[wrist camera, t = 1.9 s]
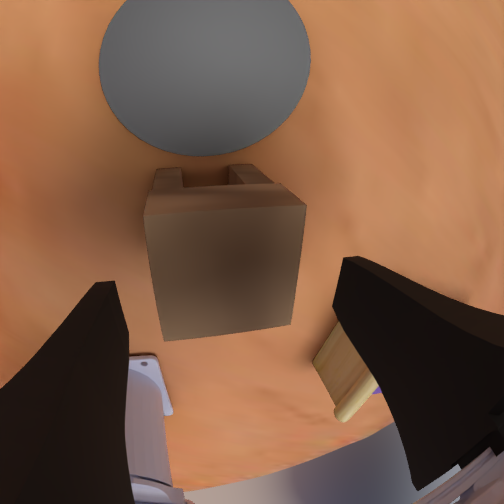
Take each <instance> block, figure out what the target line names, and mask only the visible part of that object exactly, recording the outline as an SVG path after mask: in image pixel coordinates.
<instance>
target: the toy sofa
mask: <svg viewBox="0 0 504 504" xmlns="http://www.w3.org/2000/svg"><path fill="white" fill-rule="evenodd" d="M313 365H314V367H315V369H316V371H317V372H318V374H319V376H320V378H321V380H322V381H323V383H324V385H325V387H326V389H327V390H328V392H329V394H330V396H331V398H332V400H333V402H334V404H335V406H336V407H335V409H334V415H335V417H336V419H337V420H339V421H340V422H347V421H348V420H349V419H350V418H351V417H352V416H353V415H354V414H355V413H356V411H357V410H358V409H359V408H360V407H361V406H362V405H363V403H364V402H365V401H366V400H367V399H368V398H369V397H370V396H371V394H377V393H382V391H381V389H380V387H379V385H378V384H377V382H376V380H375V378H374V377H373V375H372V374H371V372H370V371H369V369H368V367H367V366H366V364H365V363H364V361H363V360H362V358H361V357H360V355H359V354H358V352H357V351H356V349H355V348H354V346H353V344H352V343H351V341H350V340H349V338H348V337H347V335H346V333H345V332H344V330H343V328H342V326H341V324H340V322H339V321H338V323H337V324H336V326H335V327H334V329H333V331H332V332H331V334H330V335H329V337H328V338H327V340H326V341H325V343H324V344H323V346H322V348H321V349H320V351H319V352H318V354H317V355H316V357H315V358H314V360H313Z"/></svg>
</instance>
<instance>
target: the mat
mask: <svg viewBox="0 0 504 504" xmlns="http://www.w3.org/2000/svg"><path fill="white" fill-rule="evenodd" d="M310 63H311V59H310V45H309V39H308V36H307V32H306V29H305V26H304V24H303V22H302V20H301V18H300V16H299V14H298V13H297V11H296V10H295V8H294V7H293V5H292V4H291V3H290V2H289V1H288V0H127V1H126V2H125V3H124V4H123V5H122V6H121V7H120V9H119V10H118V11H117V12H116V14H115V16H114V17H113V19H112V20H111V22H110V24H109V26H108V28H107V30H106V33H105V35H104V38H103V42H102V45H101V49H100V57H99V76H100V81H101V86H102V90H103V92H104V95H105V98H106V100H107V102H108V104H109V106H110V108H111V110H112V111H113V113H114V114H115V115H116V117H117V118H118V119H119V121H120V122H121V123H122V124H123V125H124V126H125V127H126V128H127V129H128V130H129V131H130V132H131V133H133V134H134V135H136V136H137V137H138V138H140V139H141V140H143V141H145V142H146V143H148V144H150V145H152V146H154V147H157V148H159V149H162V150H164V151H168V152H172V153H176V154H180V155H188V156H213V155H221V154H226V153H230V152H234V151H237V150H240V149H243V148H246V147H248V146H250V145H252V144H254V143H256V142H258V141H260V140H261V139H263V138H265V137H266V136H268V135H269V134H271V133H272V132H273V131H274V130H275V129H277V128H278V127H279V126H280V125H281V124H282V123H283V122H284V121H285V120H286V119H287V118H288V117H289V115H290V114H291V113H292V111H293V110H294V109H295V107H296V106H297V104H298V102H299V100H300V99H301V97H302V95H303V92H304V90H305V87H306V84H307V80H308V77H309V71H310Z"/></svg>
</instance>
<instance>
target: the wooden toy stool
mask: <svg viewBox="0 0 504 504" xmlns="http://www.w3.org/2000/svg"><path fill="white" fill-rule="evenodd" d="M306 207H307V205H306V204H305V203H304V202H302V201H301V200H300V199H299V198H298V197H296V196H295V195H294V194H293V193H292V192H290V191H289V190H288V189H287V188H285V187H284V186H283V185H282V184H281V183H274V182H273V181H272V180H270V179H269V178H268V177H267V176H266V175H264V174H263V173H262V172H261V171H260V170H258V169H257V168H256V167H255V166H254V165H252V164H237V165H229V179H228V185H220V186H203V187H188V188H183V181H182V173H181V167H177V168H164V169H156V174H155V179H154V184H153V188H152V190H151V191H149V192H148V196H147V200H146V205H145V209H144V214H143V220H144V228H145V236H146V243H147V251H148V258H149V264H150V270H151V277H152V283H153V288H154V294H155V300H156V305H157V310H158V315H159V320H160V325H161V330H162V334H163V339H164V341H174V340H184V339H193V338H202V337H210V336H218V335H226V334H233V333H241V332H247V331H254V330H261V329H267V328H273V327H279V326H285V325H291V319H292V313H293V306H294V299H295V293H296V286H297V279H298V272H299V264H300V257H301V249H302V241H303V233H304V225H305V216H306Z"/></svg>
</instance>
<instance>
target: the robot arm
mask: <svg viewBox="0 0 504 504" xmlns="http://www.w3.org/2000/svg"><path fill="white" fill-rule="evenodd" d="M332 307H333V309H334V311H335V313H336V316H337V318H338V320H339V322H340V324H341V326H342V328H343V330H344V332H345V333H346V335H347V337H348V338H349V340H350V341H351V343H352V344H353V346H354V348H355V349H356V351H357V352H358V354H359V355H360V357H361V358H362V360H363V361H364V363H365V364H366V366H367V367H368V369H369V371H370V372H371V374H372V375H373V377H374V378H375V380H376V382H377V384H378V385H379V387H380V389H381V391H382V393H383V396H384V398H385V400H386V402H387V404H388V406H389V409H390V411H391V413H392V416H393V418H394V421H395V423H396V426H397V428H398V431H399V434H400V437H401V440H402V443H403V446H404V450H405V453H406V457H407V461H408V465H409V469H410V474H411V479H412V483H413V485H414V486H415V488H416V490H417V491H419V490H421V489H422V488H424V487H425V486H427V485H428V484H430V483H431V482H433V481H434V480H436V479H437V478H439V477H440V476H442V475H443V474H445V473H446V472H447V471H449V470H450V469H452V468H453V467H454V466H455V465H457V464H459V466H460V468H461V469H462V470H461V471H459V472H458V473H457V474H455V475H454V476H453V477H451V478H450V479H449V480H448V481H446V482H445V483H443V484H442V485H440V486H439V487H437V488H436V489H435V490H433V491H432V492H430V493H429V494H427V495H426V496H424V497H423V498H421V499H419V500H418V501H416V502H415V503H413V504H450V503H451V502H452V501H454V500H455V499H456V498H457V497H459V496H460V500H459V501H458V502H455V503H454V504H504V315H500V314H496V313H492V312H489V311H485V310H482V309H478V308H475V307H472V306H469V305H467V304H464V303H462V302H459V301H456V300H454V299H451V298H449V297H446V296H444V295H442V294H439V293H437V292H435V291H433V290H431V289H429V288H426V287H424V286H422V285H420V284H418V283H416V282H414V281H412V280H410V279H408V278H406V277H404V276H402V275H400V274H398V273H396V272H394V271H392V270H390V269H388V268H386V267H384V266H381V265H379V264H377V263H375V262H373V261H370V260H368V259H365V258H363V257H360V256H353V257H345V258H343V261H342V266H341V271H340V275H339V280H338V284H337V288H336V292H335V297H334V301H333V305H332ZM172 414H173V408H172V405H171V402H170V399H169V396H168V392H167V389H166V386H165V383H164V379H163V376H162V372H161V369H160V365H159V362H158V359H157V357H155V356H153V355H147V356H133V357H129V331H128V328H127V325H126V321H125V318H124V314H123V311H122V307H121V303H120V300H119V296H118V292H117V288H116V284H115V281H106V282H96V283H95V284H94V285H93V286H92V287H91V288H90V289H89V290H88V292H87V293H86V294H85V295H84V297H83V298H82V299H81V300H80V301H79V303H78V304H77V305H76V306H75V308H74V309H73V310H72V311H71V313H70V314H69V315H68V316H67V318H66V319H65V320H64V321H63V323H62V324H61V325H60V326H59V327H58V329H57V330H56V331H55V332H54V333H53V334H52V335H51V337H50V338H49V339H48V340H47V341H46V342H45V344H44V345H43V346H42V347H41V348H40V350H39V351H38V352H37V353H36V354H35V355H34V356H33V357H32V358H31V360H30V361H29V362H28V363H27V364H26V365H25V366H24V367H23V368H22V369H21V370H20V371H19V372H18V373H17V374H16V375H15V376H14V377H13V378H12V379H11V380H10V381H9V382H8V383H6V384H5V385H4V386H3V387H2V388H1V389H0V504H195V503H193V502H192V501H190V500H186V499H185V498H184V493H183V489H182V488H173V484H172V478H171V471H170V464H169V457H168V450H167V441H166V433H165V423H164V416H169V415H172Z"/></svg>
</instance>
